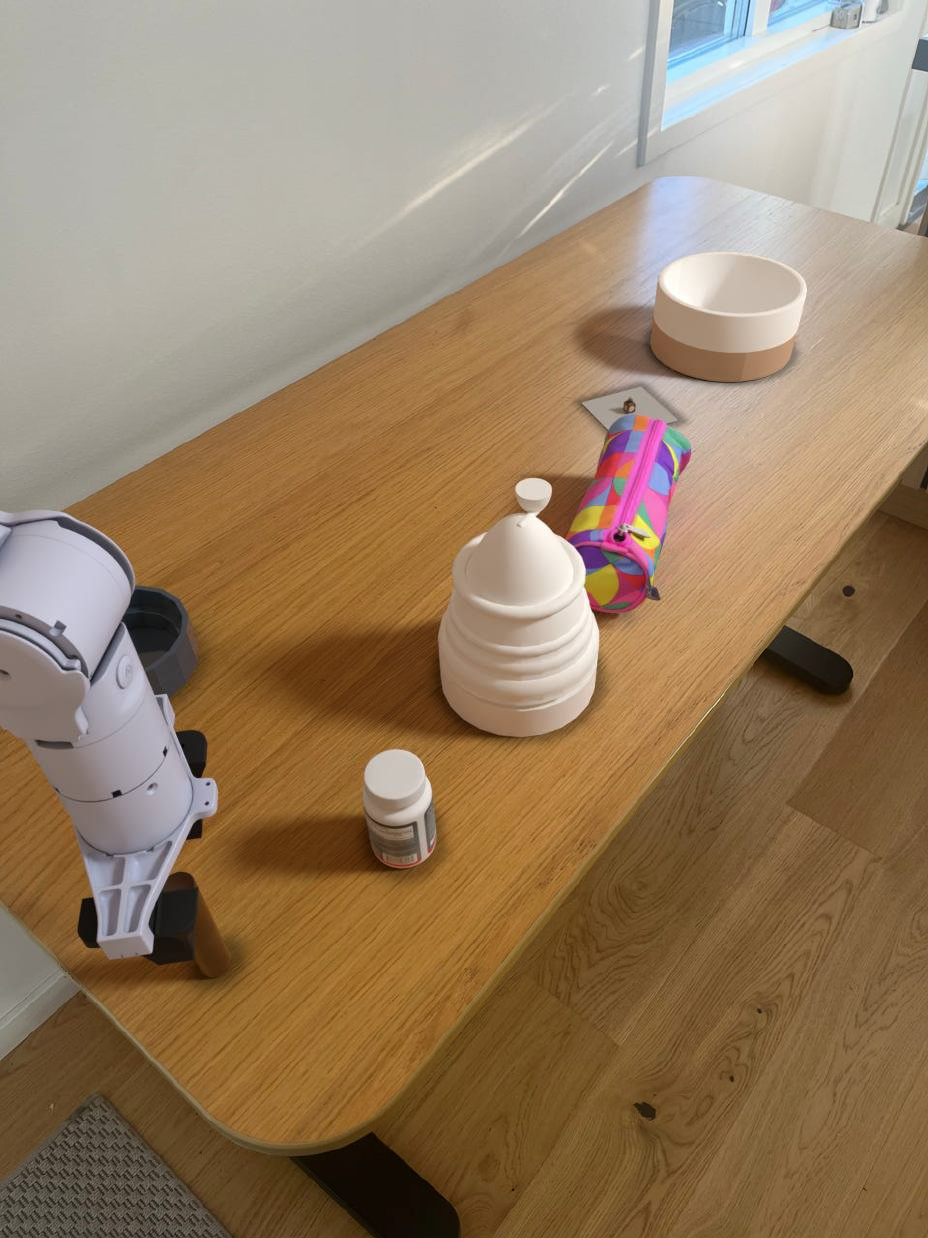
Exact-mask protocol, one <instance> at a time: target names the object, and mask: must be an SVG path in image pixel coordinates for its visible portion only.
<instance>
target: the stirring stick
mask: <svg viewBox="0 0 928 1238" xmlns="http://www.w3.org/2000/svg"><path fill="white" fill-rule="evenodd" d="M194 887H199V885H198V883H197V881H196V879H195V878H194V876H193V875H192V874H191V873H189V872H187V871H175V872H173V873H171V874H169V876H168V878H167V880H166V882H165V884H164V886H163V888H162V889H163V891H164V892H167V891H173V890H180V889H187V888H194ZM194 934H195V956H194V959H193V960H195V962H196V964H197V966H198V968H199V970H200V972H201V973H202V975H203V976H205V977H207V978H209V979H215V978H219V977H222V976H223V975H225V974H226V973H227V972H228V971H229V969H230V968H231V965H232V955H231V953H230V950H229V949H228V946H227V945H226V942H225V940H224V939H223V936H222V934H221V931H220V929H219V928H218V926H217V924H216V922H215V919H214V917H213V915H212V913H211V910H210V909H209V907H208V904H207V903H206V900H205V898H204V897H203V894H202V892H201V889H199V890H198V907H197V918H196V922H195V926H194Z"/></svg>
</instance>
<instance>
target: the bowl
mask: <svg viewBox="0 0 928 1238" xmlns="http://www.w3.org/2000/svg"><path fill="white" fill-rule="evenodd" d="M807 294H808V289H807V283H806V281H805V279H804V278H803V276H802V275H801V274H800V273H799V272H798V271H796V270H795V269H793V268H792V267H790V266H789V265H787V264H784V263H782V262H780V261H778V260H775V259H773V258H769V257H767V256H762V255H758V254H753V253H748V252H747V253H746V252H739V251H708V252H707V251H706V252H699V253H693V254H690V255H685V256H682V257H681V258H676V259H675V260H673V261H671V262H669V263H667V264H666V266H664V267H663V268H662V269H661V270H660V273H659V274H658V276H657V283H656V290H655V297H654V298H655V300H654V308H653V315H652V316H653V317H652V325H651V335H650V342H649V344H650V347H651V351H652V353H653V355H654V356H655V357H656V358H657V359H658V360H659V361H660V362H661V363H662V364H663V365H664V366H666V367H668V368H669V369H671V370H673V371H675V372H677V373H680V374H682V375H685V376H688V377H692V378H695V379H699V380H705V381H709V382H720V383H740V382H750V381H755V380H759V379H763V378H767V377H769V376H771V375H774V374H776V373H778V372H779V371H780V370H782V369H783V368H784V367H785V366H786V365H787V364H788V363H789V361H790V359H791V358H792V357H791V356H792V353H793V350H794V345H795V342H796V337H797V333H798V329H799V326H800V322H801V319H802V315H803V310H804V306H805V302H806V298H807Z"/></svg>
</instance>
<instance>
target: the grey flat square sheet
mask: <svg viewBox="0 0 928 1238" xmlns="http://www.w3.org/2000/svg"><path fill="white" fill-rule="evenodd" d="M581 405H582V406H584V408H585V409H587V410H588V411H589V412H590V414H591V415H593V417H594V418H595V419H596V420H597V421H598V422H599V423H601V425H602V426H603V427H604V428H605V429H606V430H607V431H608V430H609V428H610V427H611V425H612V424H613V423H614V422H615V421H616V420H618V419H619V418H621V417H623V416H626V415H641V416H647V417H650V418H652V419H654V420H657V419H659V420H662V421H663V423H665V424H667V425H668V424H670V423H674V422H678V421H679V419H678V418H676V417H675V416H674V414H672V413H671V412H670V411H669V410H667V408H665V406H664V405H662V404H661V403H660V402H659V401H658V400H657V399H655V398H654V397H653V396H652V395H651V394H650V393H649V392H648V391H646V389H644V387H642V386H637V387H633V388H630V389H627V390H623V391H619V392H616V393H611V394H608V395H605V396H600V397H597V398H594V399H590V400H585V401H582V402H581Z"/></svg>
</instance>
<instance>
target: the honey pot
mask: <svg viewBox="0 0 928 1238" xmlns="http://www.w3.org/2000/svg"><path fill="white" fill-rule="evenodd" d="M552 492H553V487H552V485H551V484H550V482H548V481H547V480H545V479H543V478H538V477H530V478H529V477H528V478H524V479H522V480H520V481H519V482H518V483H517V484H516V485H515V496H516V500H517V503H518V505H519V506H520V507H521V509H522V510H524V511H525V512H517V513H516V512H515V513H512V514H511V513H510V514H508V515H506V516H504V517H502V518H500V520H498V521H497V522H496V523H494V524H493V526H491V528H489V530H488V531H485V532H482V533H481V534H478V535H477V536H475V537H473V538H472V539H470V540H469V541H468V542H467V543H465V544H464V545H463V546H462V547H461V548H460V549H459V551H458V553H457V554H456V556H455V557H454V559H453V564H452V568H451V578H452V584H453V588H452V590H451V593H450V599H449V601H448V602H447V606H446V607H447V608H446V610H445V611H444V613H443V614H442V617H441V621H440V625H439V629H438V635H437V639H438V640H437V641H438V656H439V657H438V658H439V669H440V670H439V672H440V680H441V681H440V682H441V687H442V689H441V690H442V693H443V695H444V697H445V699H446V700H447V703H448V705H449V706H450V708H451V709H452V710H453V711H454V712H455V713H456V714H457V715H458V716H459V717H460V718H461V719H462V720H464V721H465V722H467V723H469V724H470V725H472V726H474V727H475V728H477V729H479V730H481V731H484V732H487V733H491V734H494V735H497V736H503V737H514V738H526V737H535V736H542V735H545V734H548V733H551V732H553V731H556V730H559V729H561V728H563V727H565V726H566V725H568V724H569V723H571V722H572V721H574V720H576V719H577V718H578V717H579V716H580V715H581V714H582V712H583V711H584V710H585V709H586V708H587V707H588V705H589V704H590V701H591V698H592V696H593V694H594V691H595V686H596V678H597V670H598V669H597V668H598V658H599V650H600V629H599V626H598V623H597V620H596V616H595V614H594V612H593V610H592V609H591V608H590V605H589V599H588V596H587V593H586V590H585V588H584V584H585V575H586V569H585V565H584V562H583V559H582V557H581V555H580V554H579V553H578V552H577V550H576V549H575V548H574V546H573V545H571V544H570V543H569V542H567V541H566V540H565V538H563V537H562V536H560V535H558V534H556V533H554V531H552V529H551V528H550V527H549V526H548V525H547V524H546V523H545V522H543V521H542V520H541V519H540V518H538V517H537V516H538V515H539V514H540V512H542V511H543V510H545V508H546V507H547V506H548V504H549V502H550V500H551V497H552Z"/></svg>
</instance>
